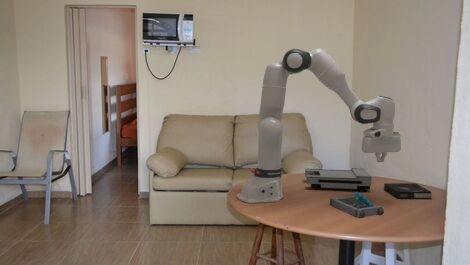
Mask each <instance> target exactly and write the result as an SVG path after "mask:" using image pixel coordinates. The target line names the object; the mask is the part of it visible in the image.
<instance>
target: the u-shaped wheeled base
mask: <svg viewBox="0 0 470 265" xmlns="http://www.w3.org/2000/svg"><path fill="white" fill-rule="evenodd" d="M356 198H357V197H356V196H355V195H351V196H343V197H342V196H341V197H335V198H334V197H332V198H331V197H330V198H329V205H330V206H331V207H333V208H336V209H338V210H340V211H342V212H345V213H347V214H349V215H351V216H354V217H355V218H358V219H359V218H362V219H363V218H365V217H367V216H373V215H375V216H376V215H380V216H381V215H384V213H385V209H384V206H383V205H376V206H374V205H373V207H367V206H366V207H360V208H359V209H357V208H356V207H355V206H353V205H354V204H355V202H356ZM351 204H353V205H351Z"/></svg>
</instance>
